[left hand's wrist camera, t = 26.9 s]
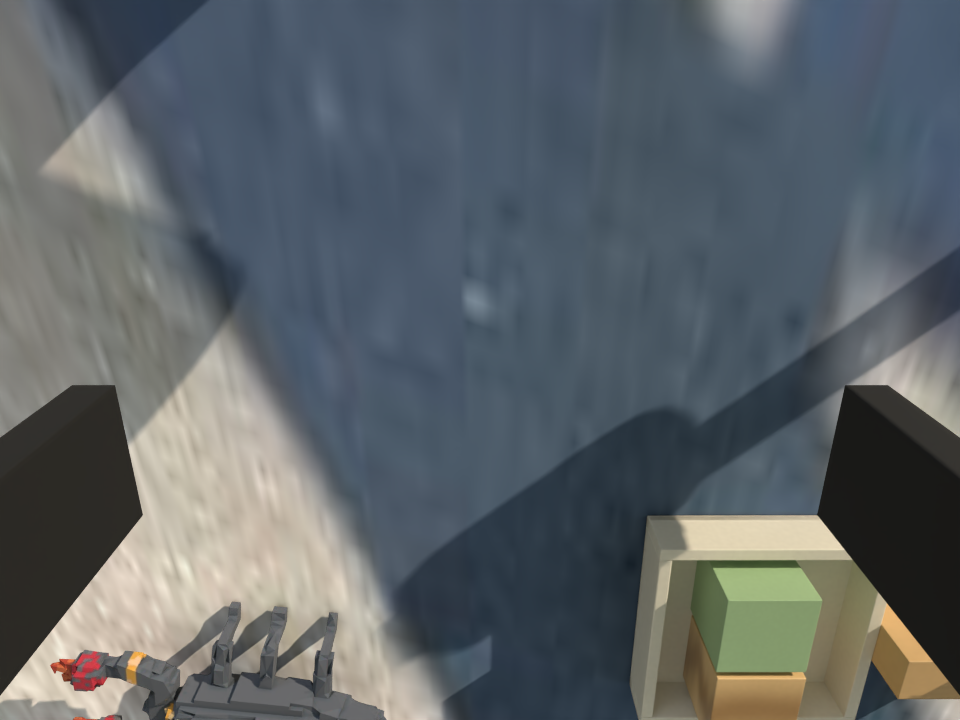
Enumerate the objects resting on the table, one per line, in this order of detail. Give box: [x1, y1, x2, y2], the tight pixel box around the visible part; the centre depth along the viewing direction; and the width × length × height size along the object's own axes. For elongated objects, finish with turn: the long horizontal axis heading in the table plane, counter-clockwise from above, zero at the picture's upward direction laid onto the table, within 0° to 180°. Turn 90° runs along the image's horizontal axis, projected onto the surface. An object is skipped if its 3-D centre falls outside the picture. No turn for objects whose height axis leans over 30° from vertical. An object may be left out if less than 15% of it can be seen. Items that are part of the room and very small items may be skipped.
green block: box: [690, 560, 822, 672], centre depth 43 cm, size 6×6×6 cm
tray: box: [630, 515, 960, 720], centre depth 44 cm, size 15×29×7 cm, turn 90°
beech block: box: [683, 615, 806, 720], centre depth 45 cm, size 6×6×6 cm
